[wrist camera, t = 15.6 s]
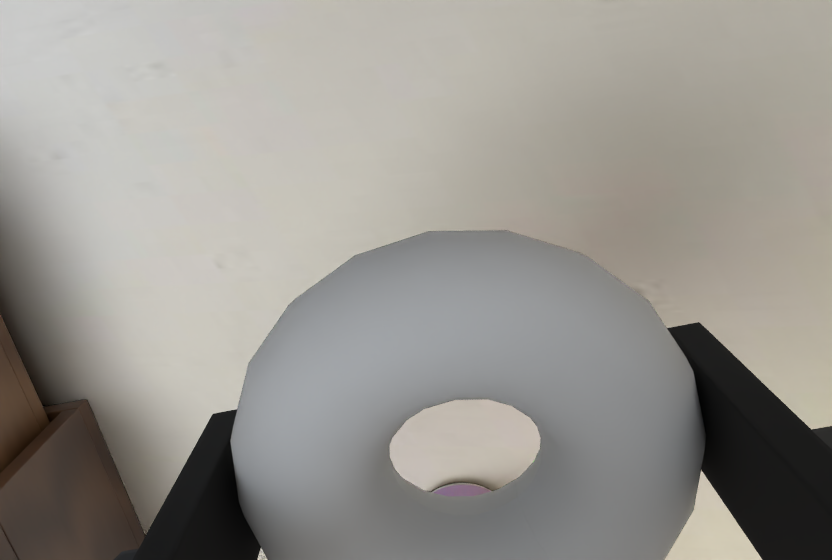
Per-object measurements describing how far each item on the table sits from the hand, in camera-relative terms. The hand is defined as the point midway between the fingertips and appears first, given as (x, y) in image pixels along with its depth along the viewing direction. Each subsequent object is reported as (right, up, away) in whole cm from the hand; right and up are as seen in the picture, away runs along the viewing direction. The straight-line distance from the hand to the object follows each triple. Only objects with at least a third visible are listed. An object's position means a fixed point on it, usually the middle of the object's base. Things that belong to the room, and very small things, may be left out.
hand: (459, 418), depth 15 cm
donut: (0, 0, 0) cm, 0 cm away
